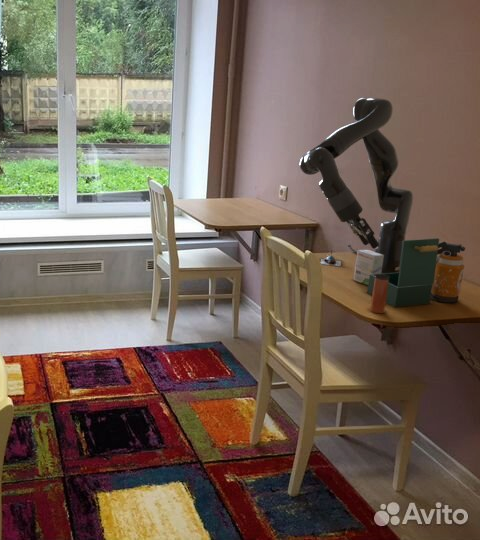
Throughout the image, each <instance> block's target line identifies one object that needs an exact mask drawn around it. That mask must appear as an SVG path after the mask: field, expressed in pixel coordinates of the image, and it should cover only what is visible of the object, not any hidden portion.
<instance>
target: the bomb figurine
mask: <svg viewBox="0 0 480 540" xmlns="http://www.w3.org/2000/svg"><path fill="white" fill-rule="evenodd" d="M332 254H333V249H330V255H329V254H327V255H326V257H324V258H320V263H321V264H320V265H326V266H336V267H341V266H342V260H336V258H335V257H334V256H332Z"/></svg>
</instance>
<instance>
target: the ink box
mask: <svg viewBox="0 0 480 540" xmlns="http://www.w3.org/2000/svg"><path fill="white" fill-rule="evenodd" d="M356 252H357V253H356V258H355V267H354V274H353V281H355V282H358V283H361V284H363V285H365V286H368V284H369V277H370V275H371V274H381V271H382V264H383V257H384V255H382V254H379V253H376V252H375V251H373V250H370V249H358V250H356Z"/></svg>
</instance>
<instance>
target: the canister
mask: <svg viewBox="0 0 480 540" xmlns="http://www.w3.org/2000/svg"><path fill="white" fill-rule="evenodd" d="M464 251H466V247H465V246H463V245H462V244H459V243H458V244H455V243H448V242H446V241H442V242H439V245H438V253H437V261H436V268H435V276H434V284H432V290H431V296H430V299H432V300H435V301H437V302H441V303H454V302H458V301H459V296H460V291H461V285H462V281H463V276H464V270H465V265H464V260H465V258H464V257H463V255H461V252H464Z"/></svg>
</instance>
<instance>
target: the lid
mask: <svg viewBox="0 0 480 540" xmlns="http://www.w3.org/2000/svg"><path fill="white" fill-rule="evenodd" d="M439 243H440V238H438V237H436V238H422V239H405V240H404V241H403V243H402V252H401V260H400V269H399V278H398V287H402V286H413V285H424V284H434V276H435V268H436V261H437V257H438V255H437V253H438V250H439V248H438V245H439Z"/></svg>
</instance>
